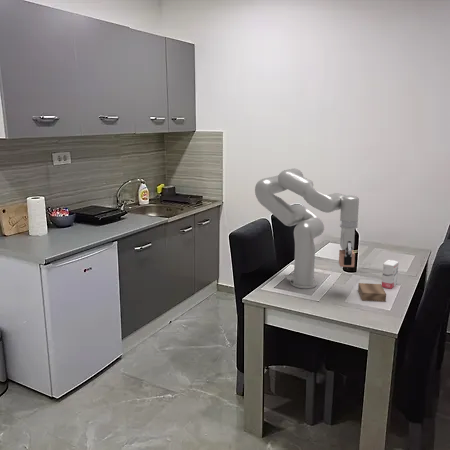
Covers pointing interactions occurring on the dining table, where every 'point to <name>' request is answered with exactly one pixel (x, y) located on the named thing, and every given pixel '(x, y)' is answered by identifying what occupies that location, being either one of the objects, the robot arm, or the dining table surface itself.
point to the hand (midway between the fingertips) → (346, 262)
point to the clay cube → (341, 258)
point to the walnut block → (372, 292)
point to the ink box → (390, 274)
